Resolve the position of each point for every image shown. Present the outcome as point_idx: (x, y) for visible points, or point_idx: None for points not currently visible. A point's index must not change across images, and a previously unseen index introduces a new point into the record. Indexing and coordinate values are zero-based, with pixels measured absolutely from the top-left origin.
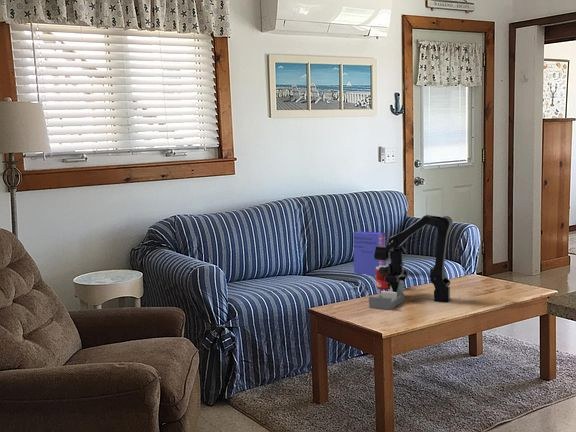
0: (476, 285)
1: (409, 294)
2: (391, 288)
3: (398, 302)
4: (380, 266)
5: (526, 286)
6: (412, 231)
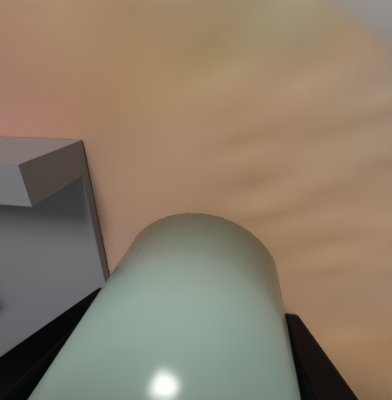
0: None
1: (339, 354)
2: (81, 321)
3: None
4: None
5: None
6: None
